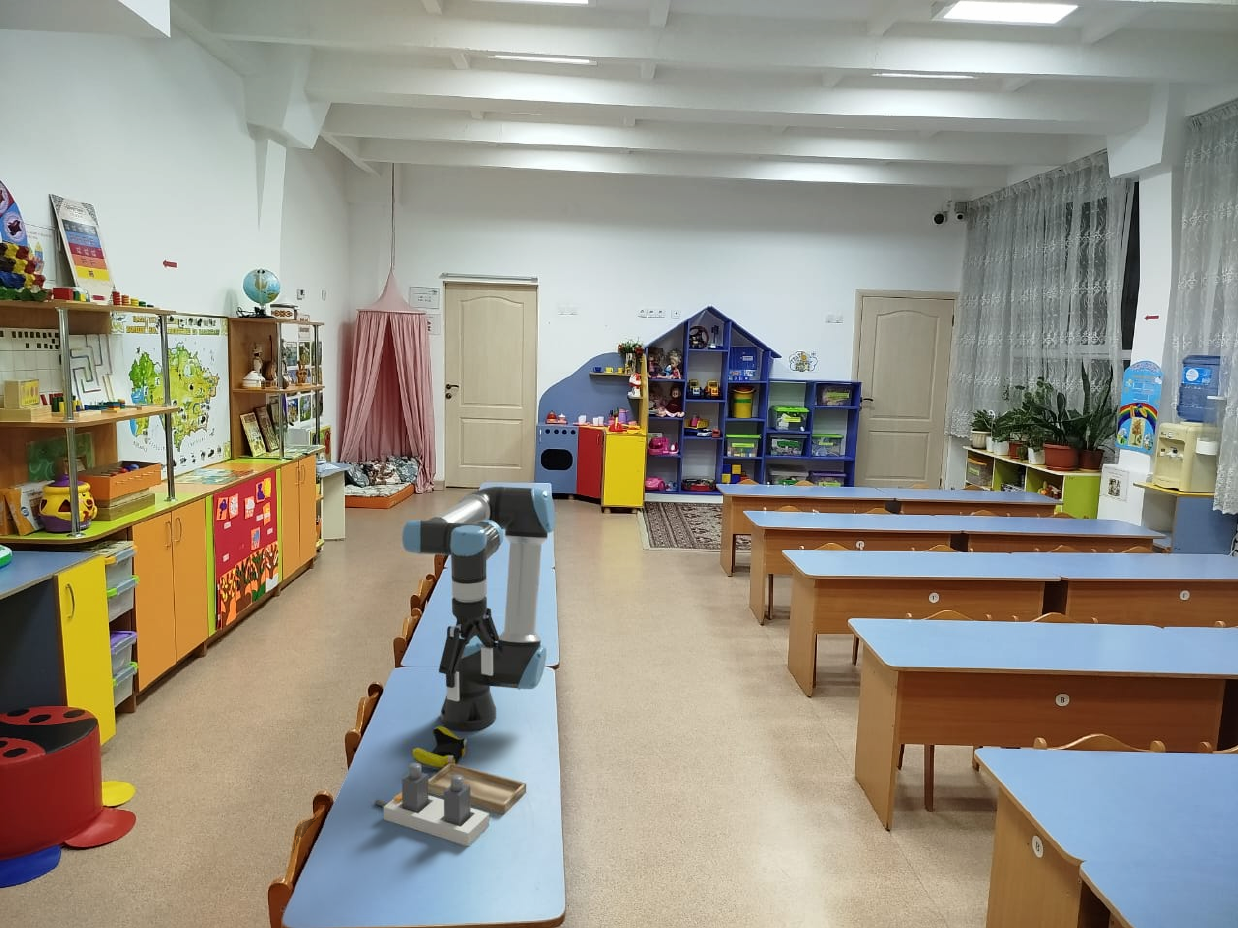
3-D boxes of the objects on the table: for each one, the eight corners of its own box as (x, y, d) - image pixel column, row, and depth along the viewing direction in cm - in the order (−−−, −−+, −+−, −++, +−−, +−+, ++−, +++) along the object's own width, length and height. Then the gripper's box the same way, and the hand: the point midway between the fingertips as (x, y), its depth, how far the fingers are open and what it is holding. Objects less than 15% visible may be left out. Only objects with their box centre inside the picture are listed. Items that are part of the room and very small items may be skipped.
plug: (470, 824, 181) (470, 775, 179) (459, 834, 177) (459, 784, 175) (454, 819, 182) (454, 771, 180) (444, 829, 178) (443, 780, 177)
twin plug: (413, 806, 186) (413, 759, 184) (428, 811, 185) (428, 763, 183) (402, 816, 183) (401, 768, 181) (417, 821, 181) (416, 772, 179)
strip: (387, 794, 192) (386, 779, 191) (489, 825, 181) (489, 809, 180) (363, 812, 185) (363, 796, 184) (468, 846, 174) (468, 829, 173)
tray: (450, 770, 203) (450, 762, 202) (526, 792, 194) (526, 783, 194) (425, 791, 194) (425, 782, 193) (503, 814, 185) (503, 805, 185)
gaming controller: (409, 771, 202) (447, 778, 200) (408, 750, 201) (446, 757, 199) (436, 742, 216) (472, 748, 214) (436, 722, 215) (472, 728, 213)
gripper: (485, 576, 194) (486, 661, 199) (420, 612, 172) (422, 707, 176) (513, 581, 192) (513, 667, 196) (450, 619, 169) (452, 714, 173)
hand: (470, 686), depth 186 cm, fingers open, 13 cm apart
